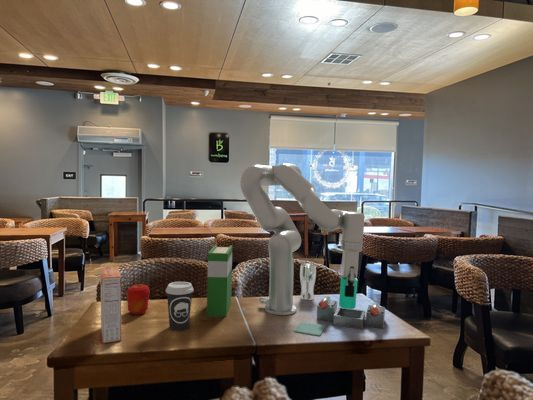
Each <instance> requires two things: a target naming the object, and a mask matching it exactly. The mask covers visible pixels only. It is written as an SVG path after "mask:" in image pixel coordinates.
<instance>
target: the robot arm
mask: <svg viewBox="0 0 533 400" xmlns="http://www.w3.org/2000/svg"><path fill="white" fill-rule="evenodd" d="M264 186H265V187H267V186H269V187H270V186H280V187H282V188H283V189H284V190H285V191H286V192H287V193H288V194H289V195H290V196H291V197H292V198H293V199H295V201H297V202H298V204H299V206H300V207H301V208H302V211H304V213H305V215H306V216H308V217H309V219H310V220H312V221H313V222H314V223H315V224H316V225H317V226H318V227H319V228H320V229H322V231H326V232H333V231H336V230H340V229H341V230H342V233H341V246H340V247H341V248H340V249H341V250H342V256H341V257H342V258H341V265H340V266H341V268H340V273H341V275H342V277H344V278H345V277H347V278H346V285H345V297H354V280H355V278H356V279H357V277H358V271H359V258H360V257H359V255H360V253H359V252H363V243H364V242H363V241H364V229H365V219H366V218H365V215H364V213H362V212H359V211H345V210H341V209H336V208H335V209H334V208H333V209H331V208H330V207H328V205H326V204H325V203H324V202H323V201H322V200H321V199H320V198H319V195H318V194H317V191H316V188H315V186H314V185H313V184H312V183H311V181H309V180H307V179H306V178H305V177H304V175H303V174H302V170H301V169H300V167H299V166H297V165H296V164H294V163H293V164H292V163H280V164H279V165H263V164H253V165H252V164H251V165H249V166H248V167H246V168H245V169H244V170H243V173H242V174H241V177H240V189H241V192H242V195H243V197H244V198H245V200H246V202H247V204H248V206H249V207H250V209H251V211H252V214H253V215H254V217H255V219H256V221H257V223H258V224H259V226H260V228H261V229H262V230H263V231H265V232H273V235H271V236H270V238H269V241H268V255H269V256H268V257H269V284H268V285H269V286H268V287H269V289H268V297H263V296H260V297H259V299H258V300H259V302H260V304H265V306H264V310H265V312H266V313H268V314H271V315H275V316H288V315H293V314H295V313H296V312H297V307H296V306H295V305H294V304H293V301H294V268H295V267H294V257H293V252H295V251H297V250H298V249H299V248H300V247H301V244H302V237H301V234H300V232H299V230H298V229H297V227H296V225H295V223H294V222H293V219H292V218H291V216H290V215H289V213H288V212H287V211H286V209H284V208H282V207H281V206H274V204H273V203H272V201H271V199H270V197H269V195H268V194H267V192H266V191H265V190H264V189H263V187H264ZM349 276H350V277H349ZM348 279H350V280H349V281H348Z"/></svg>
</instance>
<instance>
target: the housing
mask: <svg viewBox="0 0 533 400" xmlns="http://www.w3.org/2000/svg"><path fill="white" fill-rule="evenodd" d="M323 299H324V298H321V299H320V301H319V302H318V304H317V306H316V320H321V321H322V320H323V321H328V322H333V326H339V327H345V328H350V329H357V330H363V327H368V328H375V329H376V328H377V329H382V330H383V329H384V325H385V315H386V311H385V310H386V307H385V306H380V307H379V314H378V316H372V315H371V314H370V309H371V308H372V304H368V306H367V309H366V310H364V309H363V310H362V309H355V308H354V309H346V308H342V307H340V306H338V300H335V299H334V300H332V299H331V300H330V302H329V304H328V306H327V308H326V309H321V308H320V307H319V303H320V302H321V301H322V300H323Z"/></svg>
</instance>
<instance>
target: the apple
mask: <svg viewBox="0 0 533 400" xmlns="http://www.w3.org/2000/svg"><path fill="white" fill-rule="evenodd" d="M150 292H151V291H150V288H149V285H146V284H143V283H140V282H138V283H137V284H132V285H131V286H130V287H128V288H127V290H126V300H127V311H128V312H129V313H130V314H132V315H135V316H137V315H138V316H139V315H143V314H145V313H146V312H147V310H148V309H149V298H150Z"/></svg>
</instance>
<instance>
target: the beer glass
mask: <svg viewBox="0 0 533 400" xmlns="http://www.w3.org/2000/svg"><path fill="white" fill-rule="evenodd" d="M299 278H300V279H299V281H300V288H301V290H300V291H301V292H300V295H299V296H300V300H304V301H312V300H314V299H315V296H314V295H315V293H314V288H315V284H316V278H317V265H316V264H315V263H312V262H305V263H304V262H303V263H301V264H300V269H299Z"/></svg>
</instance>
